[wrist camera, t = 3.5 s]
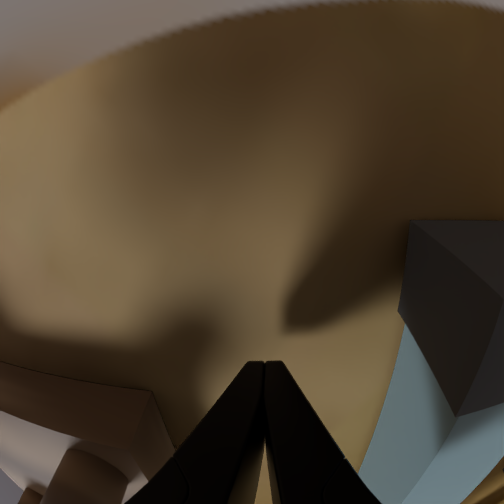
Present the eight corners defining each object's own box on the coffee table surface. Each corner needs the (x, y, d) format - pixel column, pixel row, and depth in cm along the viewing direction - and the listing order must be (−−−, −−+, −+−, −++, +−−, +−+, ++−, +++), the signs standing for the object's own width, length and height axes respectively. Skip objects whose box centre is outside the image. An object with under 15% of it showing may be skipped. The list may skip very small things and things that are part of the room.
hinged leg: (422, 466, 11) (440, 529, 7) (349, 479, 11) (357, 549, 7) (516, 221, 6) (608, 279, 3) (409, 219, 7) (504, 298, 3)
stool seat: (208, 518, 14) (196, 592, 9) (47, 477, 15) (21, 531, 10) (151, 391, 9) (96, 537, 4) (-44, 347, 10) (-101, 409, 5)
